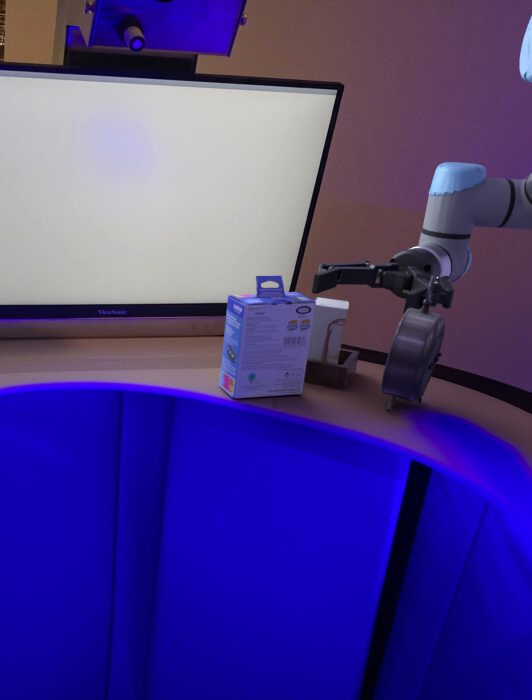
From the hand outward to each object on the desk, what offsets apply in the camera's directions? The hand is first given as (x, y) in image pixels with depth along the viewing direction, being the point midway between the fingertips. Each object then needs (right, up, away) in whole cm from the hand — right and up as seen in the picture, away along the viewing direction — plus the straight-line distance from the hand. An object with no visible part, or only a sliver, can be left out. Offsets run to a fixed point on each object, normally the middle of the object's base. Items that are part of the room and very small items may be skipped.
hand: (359, 293), depth 118 cm
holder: (-6, -11, -2) cm, 13 cm away
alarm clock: (+2, -16, -11) cm, 20 cm away
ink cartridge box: (-16, -14, -9) cm, 23 cm away
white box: (-6, -12, -2) cm, 14 cm away
